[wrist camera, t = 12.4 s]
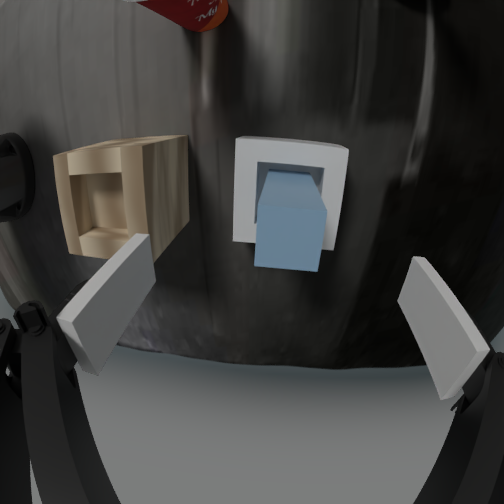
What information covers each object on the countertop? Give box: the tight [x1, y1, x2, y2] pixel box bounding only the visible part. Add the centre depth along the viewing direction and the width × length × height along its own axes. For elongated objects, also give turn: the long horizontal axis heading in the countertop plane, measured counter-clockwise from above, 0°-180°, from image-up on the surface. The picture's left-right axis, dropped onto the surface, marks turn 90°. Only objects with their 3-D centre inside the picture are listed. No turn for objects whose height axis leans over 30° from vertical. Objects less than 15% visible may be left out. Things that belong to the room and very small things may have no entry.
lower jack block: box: [233, 136, 349, 250], centre depth 27 cm, size 10×10×4 cm
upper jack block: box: [53, 135, 190, 263], centre depth 25 cm, size 10×10×10 cm
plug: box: [254, 169, 327, 272], centre depth 22 cm, size 4×5×12 cm
